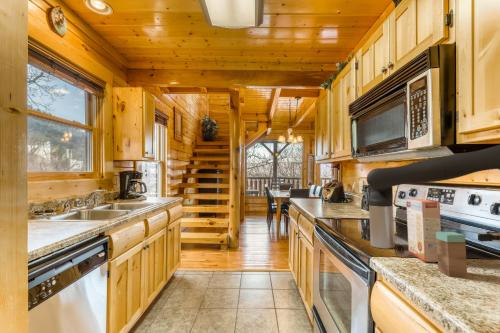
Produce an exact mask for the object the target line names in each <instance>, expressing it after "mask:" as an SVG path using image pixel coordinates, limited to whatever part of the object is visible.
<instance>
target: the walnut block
mask: <svg viewBox="0 0 500 333" xmlns="http://www.w3.org/2000/svg"><path fill="white" fill-rule="evenodd" d="M436 241H437V259H438V263H437V271H438V272H439V271H440V272H439V273H441V272H442V273H441V274H443V273H444V274H443V275H445V276H447V277H449V278H467V277H468V267H467V266H468V265H467V250H466V249H467V248H466V235H465V234H462V233H458V232H454V231H441V232H436Z"/></svg>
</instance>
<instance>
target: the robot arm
mask: <svg viewBox="0 0 500 333" xmlns="http://www.w3.org/2000/svg"><path fill="white" fill-rule="evenodd" d="M490 170H499V171H500V144H498V145H495V146H492V147H488V148H484V149H480V150H475V151H470V152H462V153H461V152H460V153H454V154H448V155H442V156H435V157H432V158H427V159H422V160H417V161H415V162H411V163H408V164H404V165H400V166H391V167H378V168H373V169H371V170H370V171H369V172H368V173H367V175H366V184H368V185H369V186H368V189H369V191H368V192H369V197H368V212H369V213H368V215H369V217H368V218H369V234H370V236H369V238H370V241H369V242H370V246H371V247H374V248H378V249H393V248H395V245H396V243H395V223H394V222H395V220H394V203H393V202H394V201H393V200H394V193H393V192H394V191H393V187H396V186H401V185H406V184H407V185H408V184H425V183H426V184H427V183H435V182H442V181H443V182H444V181H450V180H453V179H454V180H455V179H457V178H460V177H465V176H467V175H468V176H469V175H471V174H473V173H474V174H475V173H478V172H483V171H490ZM477 240H478V241H479V242H494V243H495V242H497V243H500V231H486V233H478V234H477Z"/></svg>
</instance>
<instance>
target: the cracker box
mask: <svg viewBox="0 0 500 333" xmlns="http://www.w3.org/2000/svg"><path fill="white" fill-rule="evenodd" d="M440 206H441V203H440V201H438V200H430V199H425V198H406V220H407V221H406V222H407V223H406V224H407V242H408V243H407V244H408V253H410V254H412V255H414V256H415V257H416V258H418V259H419V260H421V261H422V262H424V263H435V262H438V259H437V241H436V232H442V230H441V229H442V228H441V210H440V208H441V207H440Z"/></svg>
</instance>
